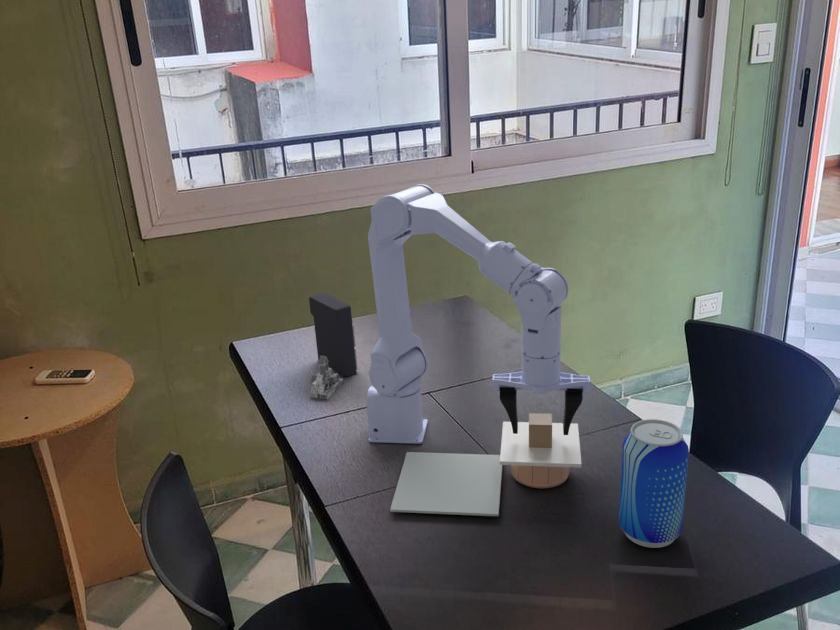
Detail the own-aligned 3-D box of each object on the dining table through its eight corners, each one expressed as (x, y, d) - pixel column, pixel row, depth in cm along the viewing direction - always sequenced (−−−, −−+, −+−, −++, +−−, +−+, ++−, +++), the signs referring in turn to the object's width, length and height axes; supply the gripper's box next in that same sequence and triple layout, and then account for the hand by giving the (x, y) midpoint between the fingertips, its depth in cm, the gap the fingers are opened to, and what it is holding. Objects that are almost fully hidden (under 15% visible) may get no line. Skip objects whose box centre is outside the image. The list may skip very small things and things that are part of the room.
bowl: (510, 487, 120) (510, 459, 118) (512, 455, 128) (512, 429, 126) (570, 489, 118) (570, 461, 116) (567, 457, 126) (568, 430, 125)
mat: (390, 511, 115) (390, 509, 115) (407, 454, 130) (406, 451, 130) (498, 516, 113) (498, 514, 113) (503, 457, 128) (503, 455, 127)
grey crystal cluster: (310, 375, 161) (306, 341, 158) (348, 381, 158) (345, 346, 155) (288, 395, 153) (283, 360, 150) (327, 401, 150) (323, 365, 147)
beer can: (644, 558, 103) (651, 454, 97) (606, 523, 110) (610, 424, 104) (694, 540, 106) (704, 438, 100) (654, 507, 113) (661, 410, 107)
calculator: (360, 372, 160) (354, 304, 155) (342, 378, 158) (335, 310, 152) (332, 356, 169) (326, 291, 163) (315, 362, 166) (308, 296, 161)
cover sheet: (499, 464, 116) (499, 438, 115) (503, 424, 127) (502, 399, 126) (581, 467, 115) (582, 440, 113) (577, 426, 126) (578, 401, 124)
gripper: (490, 361, 113) (492, 443, 118) (592, 363, 111) (589, 446, 116) (493, 342, 119) (494, 420, 124) (589, 343, 117) (587, 422, 122)
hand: (540, 431), depth 120 cm, fingers open, 7 cm apart
